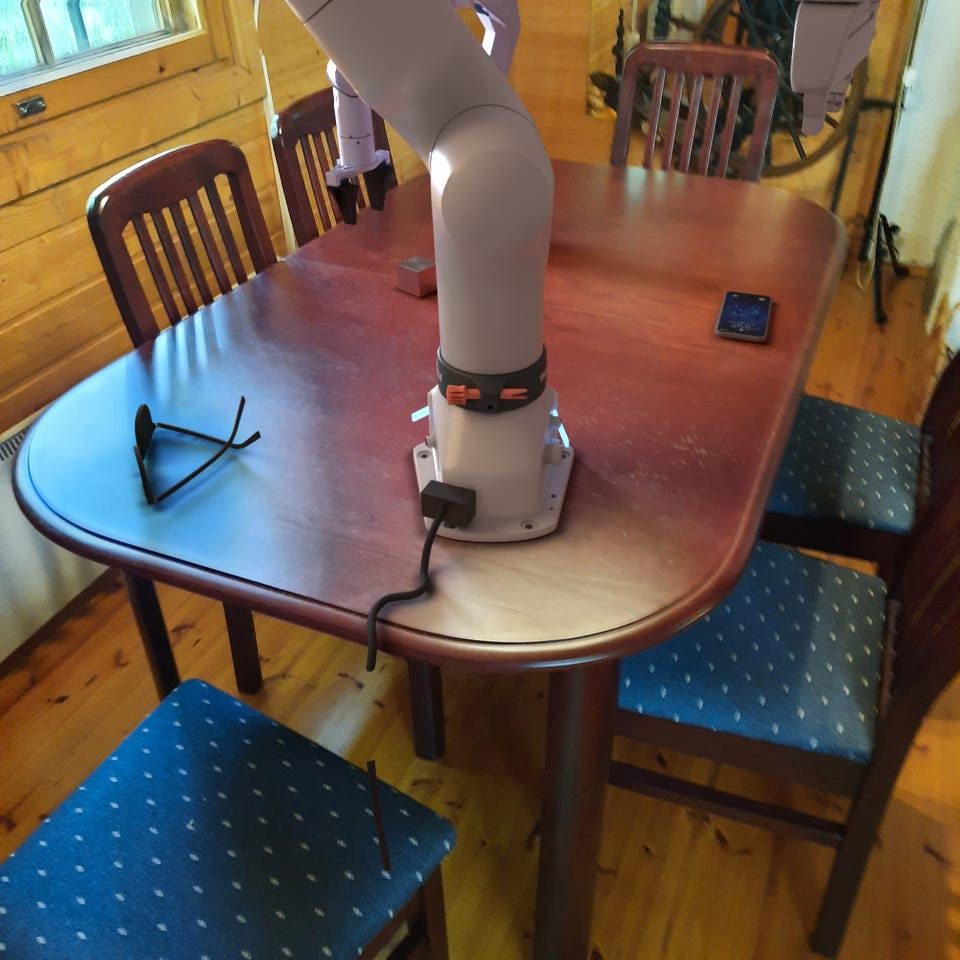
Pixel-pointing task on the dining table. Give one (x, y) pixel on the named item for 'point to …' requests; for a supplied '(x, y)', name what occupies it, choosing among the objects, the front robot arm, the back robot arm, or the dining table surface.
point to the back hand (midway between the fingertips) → (364, 216)
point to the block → (417, 276)
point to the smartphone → (744, 316)
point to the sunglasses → (147, 427)
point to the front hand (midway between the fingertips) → (822, 121)
